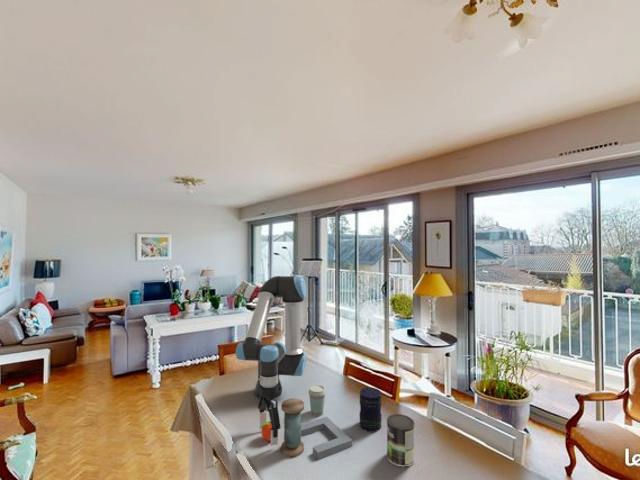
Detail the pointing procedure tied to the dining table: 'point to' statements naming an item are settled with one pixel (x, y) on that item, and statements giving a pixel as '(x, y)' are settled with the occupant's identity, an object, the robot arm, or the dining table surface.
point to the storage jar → (370, 409)
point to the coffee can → (400, 440)
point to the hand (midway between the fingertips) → (268, 435)
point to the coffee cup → (317, 399)
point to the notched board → (336, 433)
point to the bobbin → (292, 427)
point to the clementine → (266, 430)
